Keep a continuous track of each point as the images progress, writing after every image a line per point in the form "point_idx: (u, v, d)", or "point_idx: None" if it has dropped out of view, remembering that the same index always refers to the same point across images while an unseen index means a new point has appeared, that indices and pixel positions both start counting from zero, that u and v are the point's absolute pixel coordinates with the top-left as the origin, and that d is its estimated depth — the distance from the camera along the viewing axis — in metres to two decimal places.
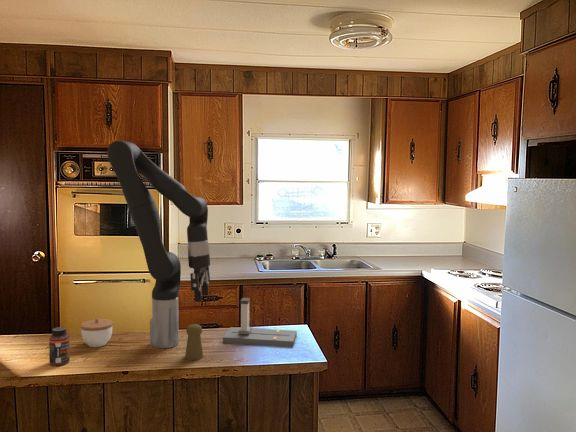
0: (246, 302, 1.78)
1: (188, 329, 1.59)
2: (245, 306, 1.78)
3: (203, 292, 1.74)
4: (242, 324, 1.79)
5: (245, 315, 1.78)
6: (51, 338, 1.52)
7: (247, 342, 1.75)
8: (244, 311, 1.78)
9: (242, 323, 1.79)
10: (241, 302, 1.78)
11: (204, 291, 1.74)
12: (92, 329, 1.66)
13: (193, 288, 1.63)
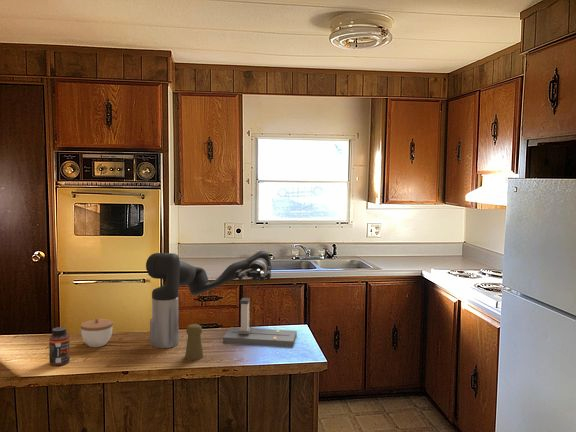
0: (246, 302, 1.78)
1: (188, 329, 1.59)
2: (245, 306, 1.78)
3: None
4: (242, 324, 1.79)
5: (245, 315, 1.78)
6: (51, 338, 1.52)
7: (247, 342, 1.75)
8: (244, 311, 1.78)
9: (242, 323, 1.79)
10: (241, 302, 1.78)
11: (261, 278, 1.92)
12: (92, 329, 1.66)
13: None
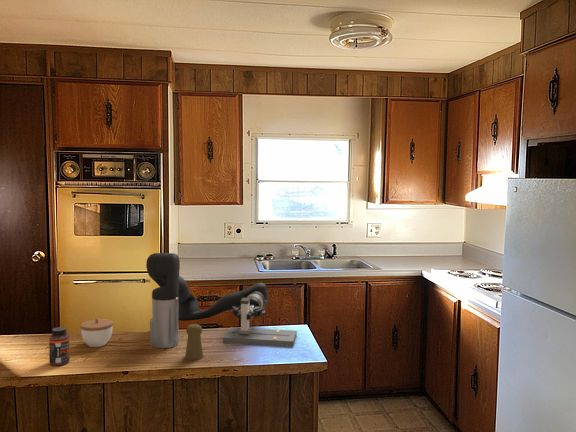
0: (246, 302, 1.78)
1: (188, 329, 1.59)
2: (245, 306, 1.78)
3: (247, 318, 1.79)
4: (242, 324, 1.79)
5: (245, 315, 1.78)
6: (51, 338, 1.52)
7: (247, 342, 1.75)
8: (244, 311, 1.78)
9: (242, 323, 1.79)
10: (241, 302, 1.78)
11: None
12: (92, 329, 1.66)
13: None
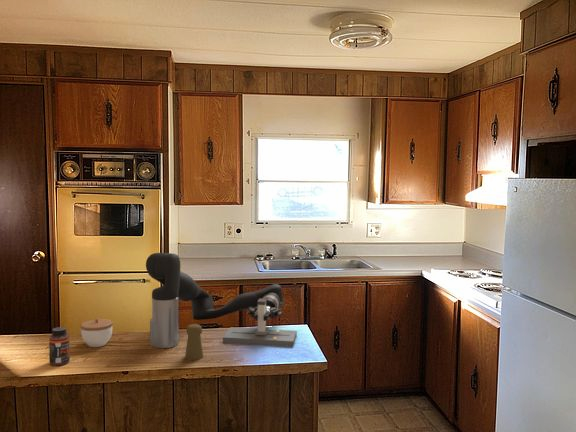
0: (263, 303, 1.77)
1: (188, 329, 1.59)
2: (262, 307, 1.77)
3: (264, 318, 1.78)
4: (259, 325, 1.78)
5: (262, 316, 1.78)
6: (51, 338, 1.52)
7: (247, 342, 1.75)
8: (261, 312, 1.77)
9: (259, 324, 1.78)
10: (258, 303, 1.77)
11: None
12: (92, 329, 1.66)
13: None
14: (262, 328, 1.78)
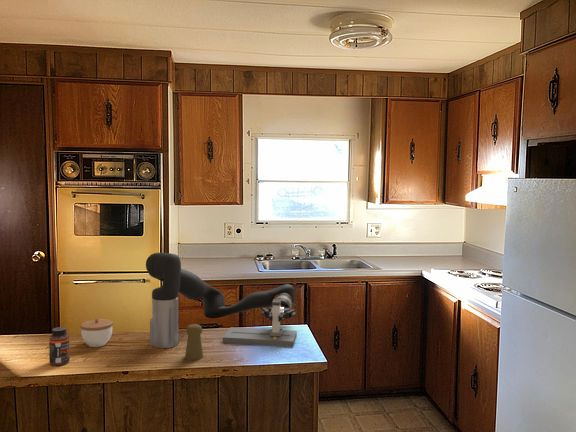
0: (278, 304, 1.76)
1: (188, 329, 1.59)
2: (277, 308, 1.77)
3: None
4: (273, 326, 1.77)
5: (277, 317, 1.77)
6: (51, 338, 1.52)
7: (247, 342, 1.75)
8: (276, 313, 1.77)
9: (273, 325, 1.77)
10: (273, 304, 1.76)
11: None
12: (92, 329, 1.66)
13: None
14: (277, 329, 1.77)
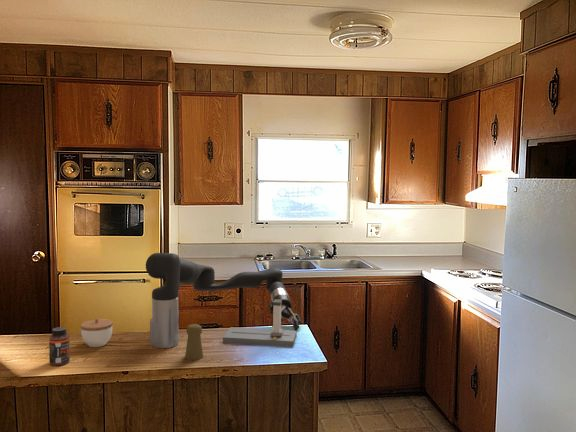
0: (279, 304, 1.76)
1: (188, 329, 1.59)
2: (277, 308, 1.77)
3: (294, 327, 1.91)
4: (274, 326, 1.77)
5: (277, 317, 1.77)
6: (51, 338, 1.52)
7: (247, 342, 1.75)
8: (276, 313, 1.77)
9: (274, 325, 1.77)
10: (273, 304, 1.76)
11: (295, 326, 1.92)
12: (92, 329, 1.66)
13: (272, 311, 1.91)
14: (277, 329, 1.77)
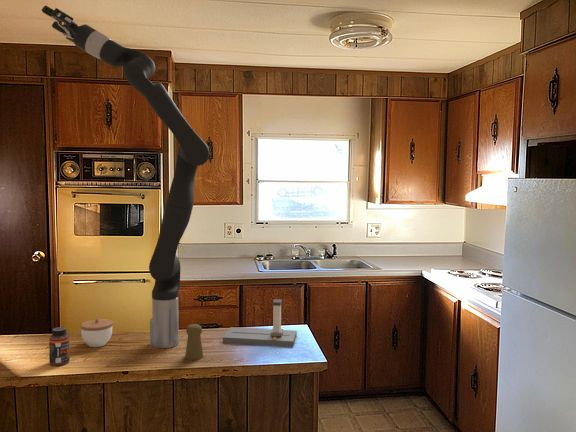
0: (279, 304, 1.76)
1: (188, 329, 1.59)
2: (277, 308, 1.77)
3: None
4: (274, 326, 1.77)
5: (277, 317, 1.77)
6: (51, 338, 1.52)
7: (247, 342, 1.75)
8: (276, 313, 1.77)
9: (274, 325, 1.77)
10: (273, 304, 1.76)
11: None
12: (92, 329, 1.66)
13: None
14: (277, 329, 1.77)
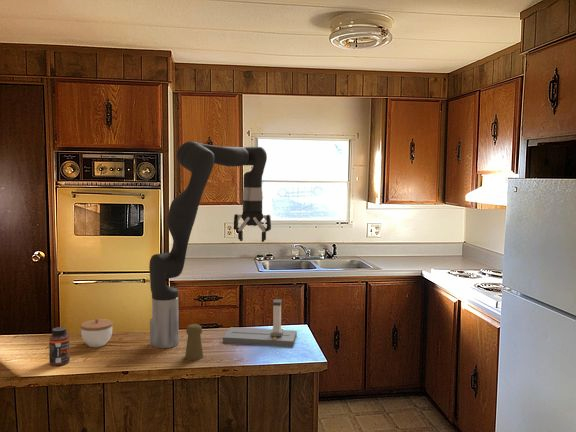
0: (279, 304, 1.76)
1: (188, 329, 1.59)
2: (277, 308, 1.77)
3: (241, 237, 1.85)
4: (274, 326, 1.77)
5: (277, 317, 1.77)
6: (51, 338, 1.52)
7: (247, 342, 1.75)
8: (276, 313, 1.77)
9: (274, 325, 1.77)
10: (273, 304, 1.76)
11: (242, 237, 1.85)
12: (92, 329, 1.66)
13: (270, 228, 1.83)
14: (277, 329, 1.77)
